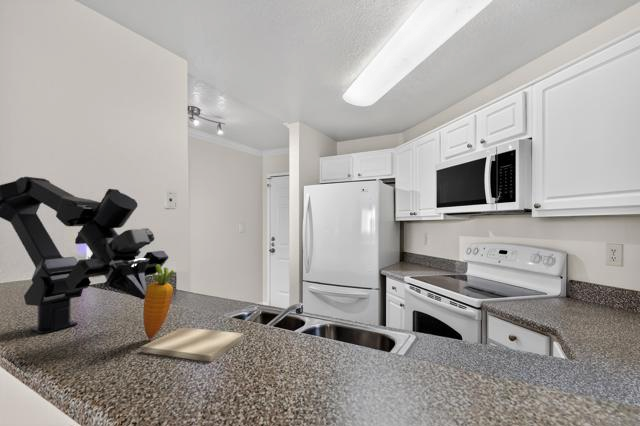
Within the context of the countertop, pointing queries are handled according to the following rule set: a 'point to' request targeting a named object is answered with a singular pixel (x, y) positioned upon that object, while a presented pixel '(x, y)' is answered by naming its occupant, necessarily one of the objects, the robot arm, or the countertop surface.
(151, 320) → the carrot
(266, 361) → the countertop surface
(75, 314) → the countertop surface
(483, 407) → the countertop surface
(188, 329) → the cutting board
